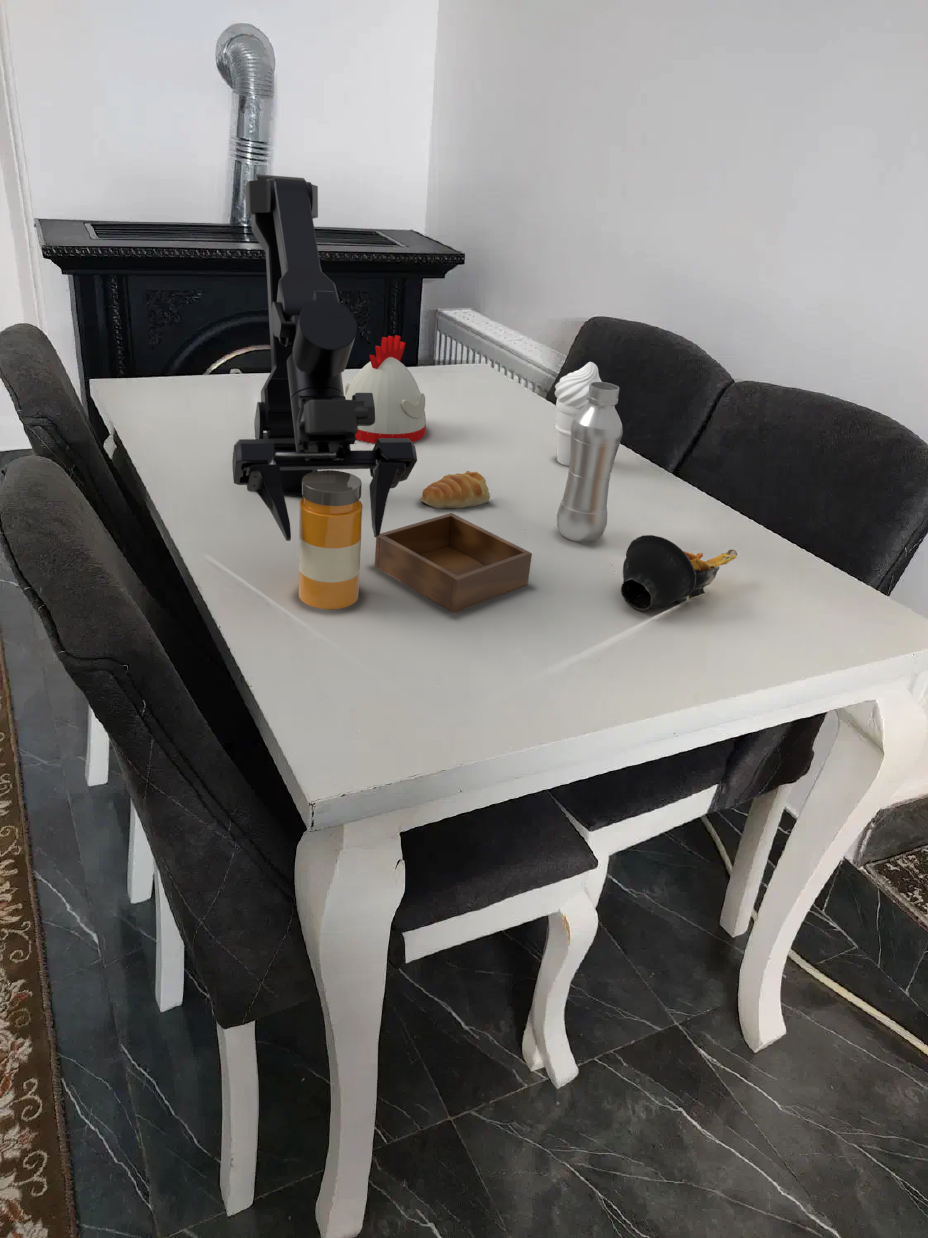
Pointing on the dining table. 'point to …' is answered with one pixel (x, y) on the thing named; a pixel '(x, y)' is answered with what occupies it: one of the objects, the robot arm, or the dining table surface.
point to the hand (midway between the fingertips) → (333, 537)
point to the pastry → (457, 491)
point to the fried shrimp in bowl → (666, 572)
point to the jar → (330, 539)
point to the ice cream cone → (571, 405)
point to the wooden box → (452, 561)
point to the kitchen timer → (390, 395)
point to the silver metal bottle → (590, 465)
